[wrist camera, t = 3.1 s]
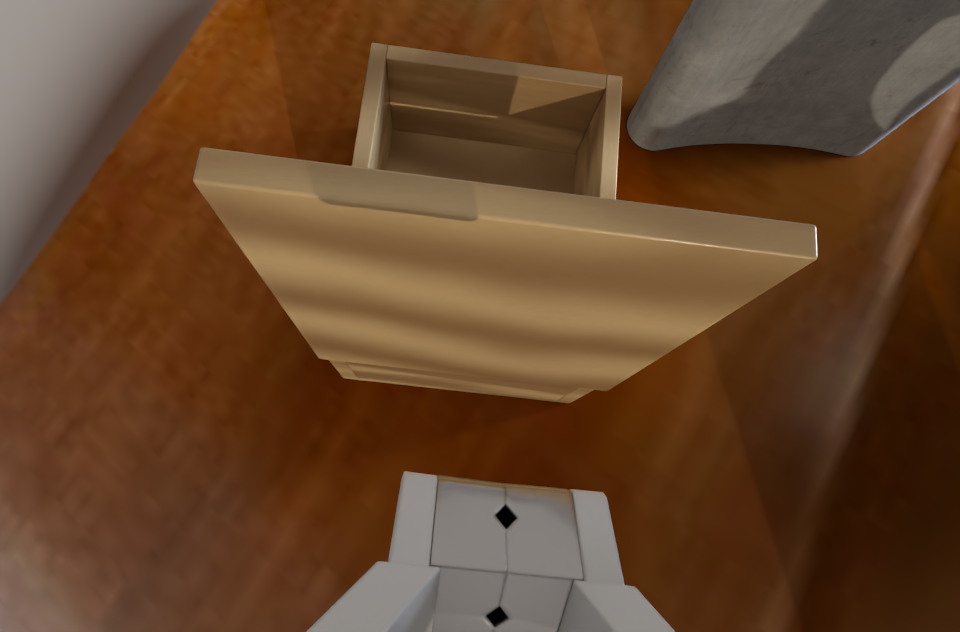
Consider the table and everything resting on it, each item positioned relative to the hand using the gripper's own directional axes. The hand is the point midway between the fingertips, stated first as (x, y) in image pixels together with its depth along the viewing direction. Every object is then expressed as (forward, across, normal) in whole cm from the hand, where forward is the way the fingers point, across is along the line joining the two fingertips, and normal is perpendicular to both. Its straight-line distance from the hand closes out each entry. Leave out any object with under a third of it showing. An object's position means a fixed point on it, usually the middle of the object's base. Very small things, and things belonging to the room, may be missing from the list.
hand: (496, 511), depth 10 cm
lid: (+11, 0, +3) cm, 12 cm away
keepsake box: (+28, 0, +10) cm, 30 cm away
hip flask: (+36, -17, +2) cm, 40 cm away
